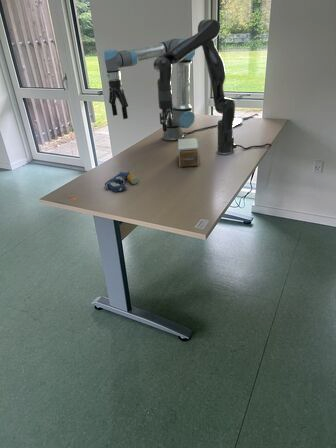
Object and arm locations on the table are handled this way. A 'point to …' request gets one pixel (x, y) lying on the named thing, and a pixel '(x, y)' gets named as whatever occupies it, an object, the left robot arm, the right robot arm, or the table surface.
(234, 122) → the spoon
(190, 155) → the drawer
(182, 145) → the cabinet
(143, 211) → the table surface
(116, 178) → the spray gun
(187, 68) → the left robot arm
